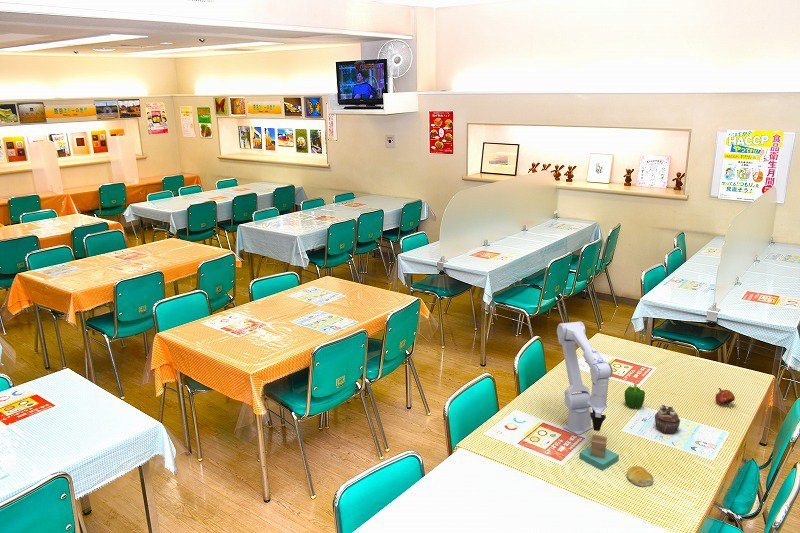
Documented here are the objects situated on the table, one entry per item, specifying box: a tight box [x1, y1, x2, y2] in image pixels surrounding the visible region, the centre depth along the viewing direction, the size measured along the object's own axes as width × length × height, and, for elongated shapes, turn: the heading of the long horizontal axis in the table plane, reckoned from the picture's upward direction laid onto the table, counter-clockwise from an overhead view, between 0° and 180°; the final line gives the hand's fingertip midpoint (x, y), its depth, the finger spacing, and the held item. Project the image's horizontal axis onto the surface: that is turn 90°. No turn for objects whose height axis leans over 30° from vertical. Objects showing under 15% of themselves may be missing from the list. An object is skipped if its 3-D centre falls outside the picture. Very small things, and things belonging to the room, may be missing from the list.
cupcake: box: [654, 404, 681, 435], centre depth 248 cm, size 10×10×10 cm
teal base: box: [578, 446, 620, 471], centre depth 229 cm, size 10×10×3 cm
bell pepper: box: [624, 382, 646, 409], centre depth 267 cm, size 8×8×10 cm
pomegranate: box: [714, 387, 736, 410], centre depth 268 cm, size 7×7×10 cm
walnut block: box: [590, 434, 608, 458], centre depth 228 cm, size 5×5×6 cm
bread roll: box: [626, 465, 654, 487], centre depth 217 cm, size 8×9×4 cm
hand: (596, 425), depth 235 cm, fingers open, 7 cm apart
